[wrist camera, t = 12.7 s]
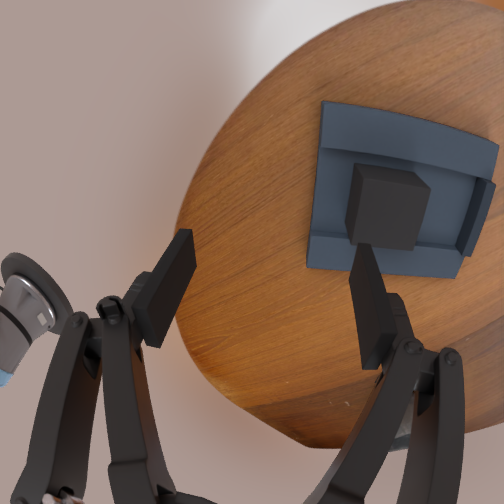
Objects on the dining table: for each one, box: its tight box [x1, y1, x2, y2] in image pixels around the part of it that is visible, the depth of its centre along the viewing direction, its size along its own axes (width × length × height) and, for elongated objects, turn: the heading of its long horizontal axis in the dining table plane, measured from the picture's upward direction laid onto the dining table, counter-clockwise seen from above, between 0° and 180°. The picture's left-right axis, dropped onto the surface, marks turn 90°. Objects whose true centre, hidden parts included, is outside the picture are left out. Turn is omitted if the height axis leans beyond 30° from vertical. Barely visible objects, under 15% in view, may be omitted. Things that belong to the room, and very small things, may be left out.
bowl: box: [389, 393, 415, 452], centre depth 43 cm, size 15×15×10 cm
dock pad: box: [306, 101, 499, 279], centre depth 24 cm, size 18×16×3 cm
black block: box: [345, 163, 431, 251], centre depth 23 cm, size 6×6×4 cm
